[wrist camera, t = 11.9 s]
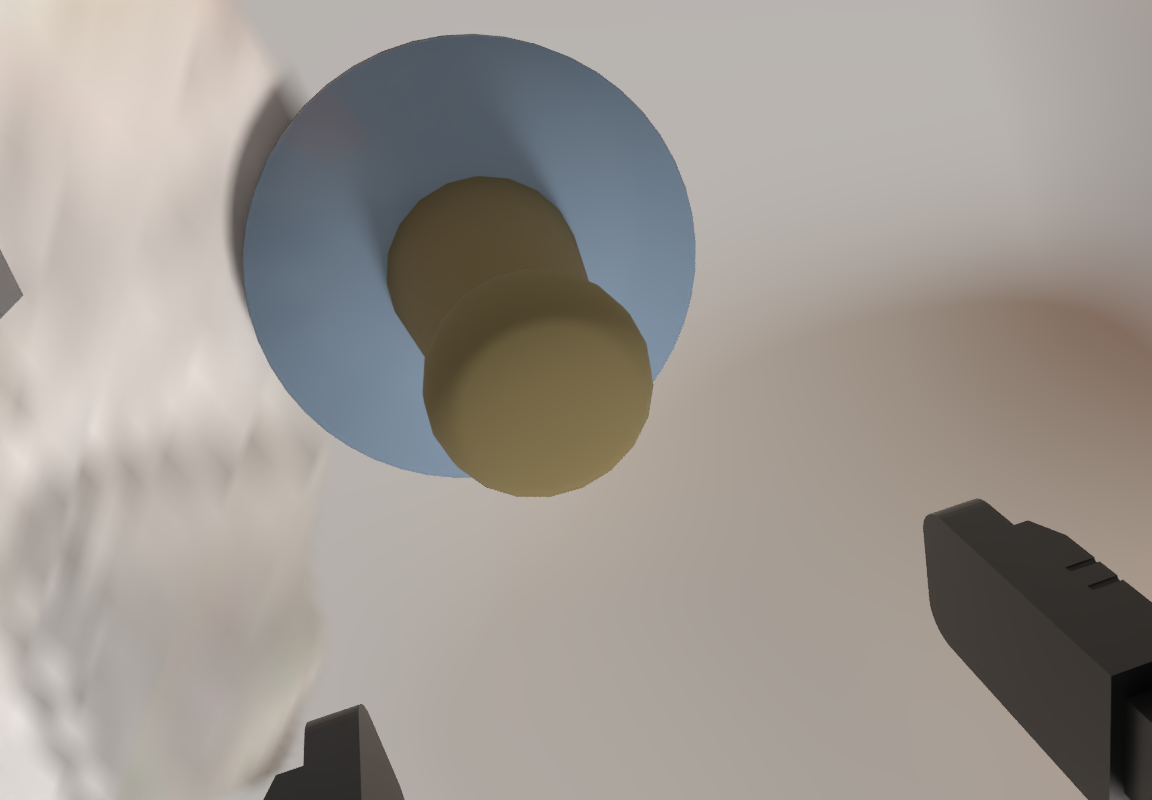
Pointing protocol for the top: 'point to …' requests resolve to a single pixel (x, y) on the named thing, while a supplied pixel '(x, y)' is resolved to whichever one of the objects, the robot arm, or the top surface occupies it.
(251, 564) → the top surface
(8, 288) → the graphite block
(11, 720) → the top surface
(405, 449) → the slate plate
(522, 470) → the cork
